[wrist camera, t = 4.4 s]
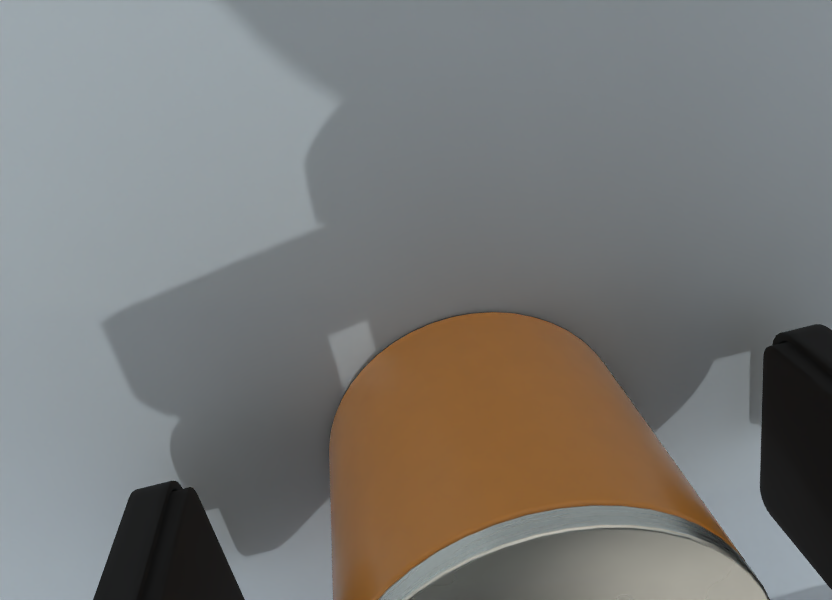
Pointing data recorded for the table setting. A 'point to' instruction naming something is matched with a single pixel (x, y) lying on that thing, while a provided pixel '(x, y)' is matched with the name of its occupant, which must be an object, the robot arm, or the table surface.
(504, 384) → the cylinder
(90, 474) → the table surface
